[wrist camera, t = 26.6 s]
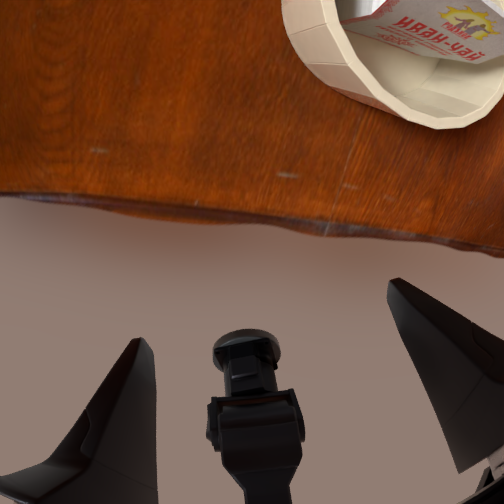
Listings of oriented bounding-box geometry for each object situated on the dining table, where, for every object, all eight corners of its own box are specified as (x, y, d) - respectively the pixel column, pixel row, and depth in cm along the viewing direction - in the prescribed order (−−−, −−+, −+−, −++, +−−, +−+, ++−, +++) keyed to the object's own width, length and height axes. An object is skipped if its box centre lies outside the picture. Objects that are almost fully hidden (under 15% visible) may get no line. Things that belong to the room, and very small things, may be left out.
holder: (450, 100, 17) (516, 126, 12) (301, 113, 18) (344, 141, 12) (426, -44, 10) (491, -58, 5) (262, -58, 11) (286, -108, 5)
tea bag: (331, -24, 12) (429, -73, 4) (422, 10, 13) (538, 12, 5) (325, 25, 14) (428, 5, 6) (417, 55, 15) (534, 79, 7)
